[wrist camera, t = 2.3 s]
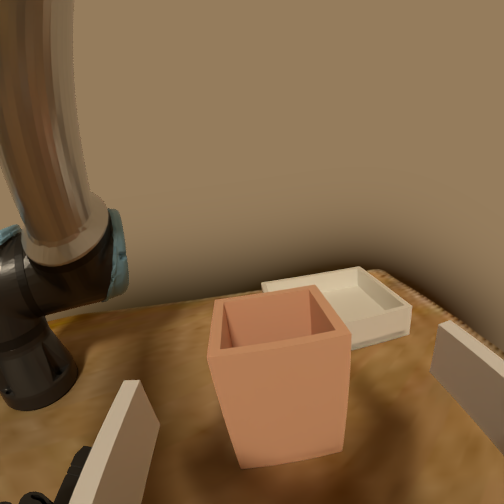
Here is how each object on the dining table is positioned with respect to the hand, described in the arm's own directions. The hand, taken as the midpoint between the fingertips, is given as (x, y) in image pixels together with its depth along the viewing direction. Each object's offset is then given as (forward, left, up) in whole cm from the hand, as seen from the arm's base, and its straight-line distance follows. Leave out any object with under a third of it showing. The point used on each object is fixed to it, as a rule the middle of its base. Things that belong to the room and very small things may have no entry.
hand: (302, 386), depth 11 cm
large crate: (-17, +27, -15) cm, 35 cm away
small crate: (-8, +6, -15) cm, 18 cm away
